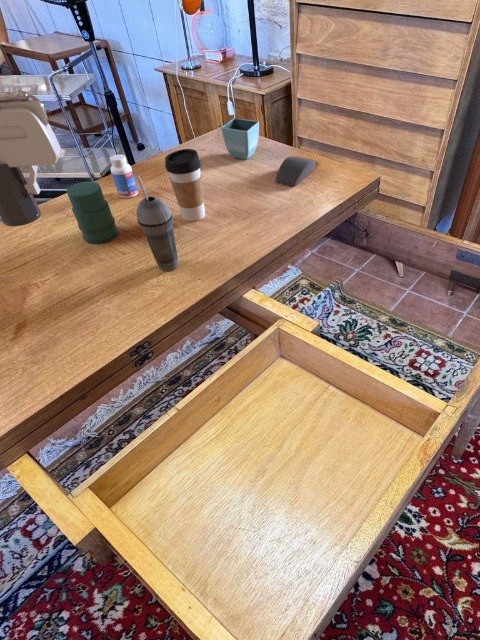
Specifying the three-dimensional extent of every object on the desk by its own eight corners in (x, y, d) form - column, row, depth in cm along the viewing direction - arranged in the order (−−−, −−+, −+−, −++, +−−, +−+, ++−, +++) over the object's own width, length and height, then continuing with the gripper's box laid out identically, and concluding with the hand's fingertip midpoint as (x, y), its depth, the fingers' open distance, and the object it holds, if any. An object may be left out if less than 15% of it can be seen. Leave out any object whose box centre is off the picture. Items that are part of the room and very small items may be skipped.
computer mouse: (318, 169, 132) (319, 154, 129) (296, 188, 124) (296, 173, 121) (295, 164, 134) (294, 150, 131) (272, 182, 127) (271, 167, 124)
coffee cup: (215, 217, 114) (205, 156, 103) (185, 227, 112) (171, 165, 100) (201, 204, 119) (189, 144, 107) (172, 214, 116) (157, 153, 104)
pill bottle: (134, 199, 122) (122, 162, 114) (115, 198, 122) (103, 161, 115) (141, 190, 125) (130, 153, 118) (123, 189, 126) (111, 152, 118)
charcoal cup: (-3, 228, 72) (-37, 170, 65) (7, 209, 75) (-23, 153, 68) (36, 224, 72) (8, 167, 65) (44, 206, 76) (18, 150, 69)
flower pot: (262, 152, 140) (259, 120, 133) (250, 163, 135) (247, 131, 128) (237, 149, 143) (233, 117, 136) (224, 159, 137) (220, 127, 130)
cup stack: (81, 245, 107) (60, 199, 98) (86, 227, 112) (67, 181, 103) (117, 242, 108) (100, 195, 99) (120, 224, 113) (104, 178, 104)
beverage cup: (174, 277, 98) (148, 186, 82) (146, 271, 100) (116, 181, 84) (190, 260, 102) (169, 170, 87) (163, 254, 104) (137, 165, 88)
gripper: (42, 83, 63) (79, 181, 74) (-111, 91, 61) (-50, 191, 72) (31, 97, 59) (73, 199, 70) (-132, 106, 57) (-64, 209, 68)
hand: (10, 195), depth 71 cm, fingers closed on charcoal cup, 6 cm apart
